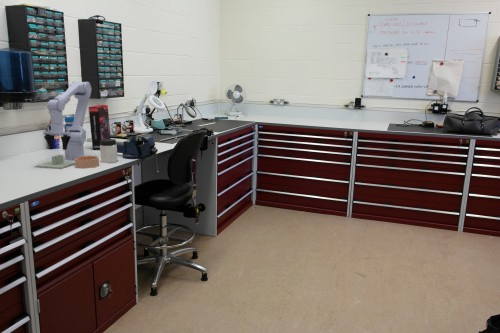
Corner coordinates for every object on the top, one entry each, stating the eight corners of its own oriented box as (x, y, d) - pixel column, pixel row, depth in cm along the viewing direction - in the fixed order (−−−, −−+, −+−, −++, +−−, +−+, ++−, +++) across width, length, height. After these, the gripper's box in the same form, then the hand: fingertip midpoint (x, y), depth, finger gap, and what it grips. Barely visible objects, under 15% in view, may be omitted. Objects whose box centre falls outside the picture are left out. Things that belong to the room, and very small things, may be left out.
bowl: (71, 168, 212) (70, 159, 211) (84, 163, 223) (83, 155, 222) (90, 169, 210) (89, 160, 209) (102, 164, 220) (102, 156, 219)
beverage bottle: (75, 146, 273) (72, 116, 269) (82, 147, 268) (80, 116, 264) (63, 148, 266) (60, 117, 262) (70, 149, 262) (67, 118, 257)
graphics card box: (102, 150, 261) (99, 106, 255) (91, 150, 261) (87, 106, 255) (111, 145, 277) (108, 104, 271) (101, 145, 278) (98, 104, 271)
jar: (103, 163, 223) (101, 141, 220) (99, 161, 229) (97, 139, 227) (119, 162, 228) (118, 140, 225) (115, 159, 234) (114, 138, 232)
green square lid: (37, 166, 213) (36, 157, 212) (55, 161, 226) (54, 152, 225) (60, 168, 210) (59, 159, 209) (78, 162, 223) (77, 154, 222)
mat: (32, 168, 212) (32, 167, 212) (55, 161, 228) (55, 160, 228) (61, 170, 208) (61, 169, 208) (82, 163, 224) (82, 162, 224)
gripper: (38, 123, 211) (40, 149, 213) (64, 124, 208) (66, 150, 210) (47, 122, 218) (49, 148, 220) (73, 123, 215) (74, 149, 217)
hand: (58, 149), depth 216 cm, fingers open, 7 cm apart
